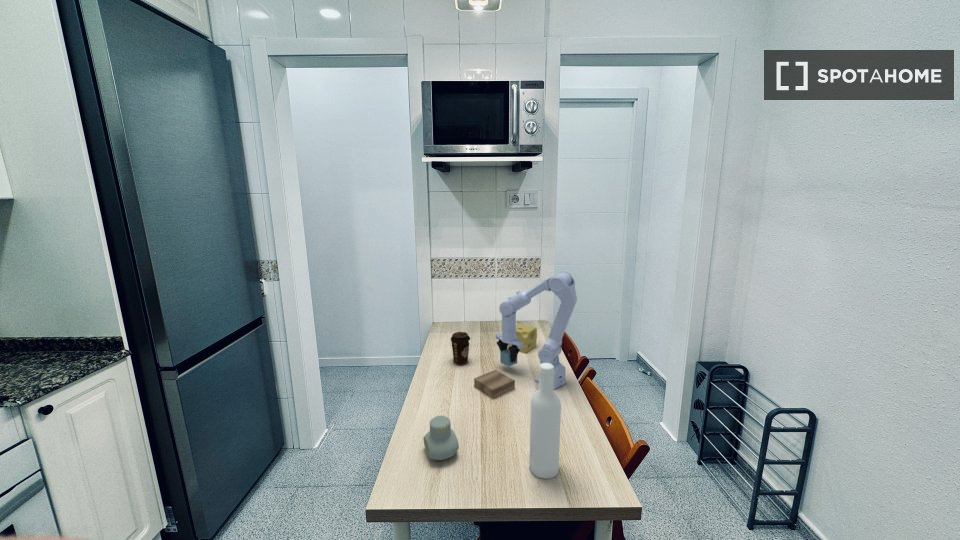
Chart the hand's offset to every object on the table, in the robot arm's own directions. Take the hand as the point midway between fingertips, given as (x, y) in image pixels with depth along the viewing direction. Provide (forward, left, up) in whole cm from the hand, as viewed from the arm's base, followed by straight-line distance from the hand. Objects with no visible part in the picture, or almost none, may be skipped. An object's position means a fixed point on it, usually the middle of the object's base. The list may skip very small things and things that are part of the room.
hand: (508, 359), depth 152 cm
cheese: (+13, -21, -5) cm, 25 cm away
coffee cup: (+19, +11, -5) cm, 23 cm away
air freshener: (-24, +49, -5) cm, 55 cm away
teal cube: (0, 0, -2) cm, 2 cm away
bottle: (-47, +31, -5) cm, 56 cm away
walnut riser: (-7, +14, -5) cm, 17 cm away
